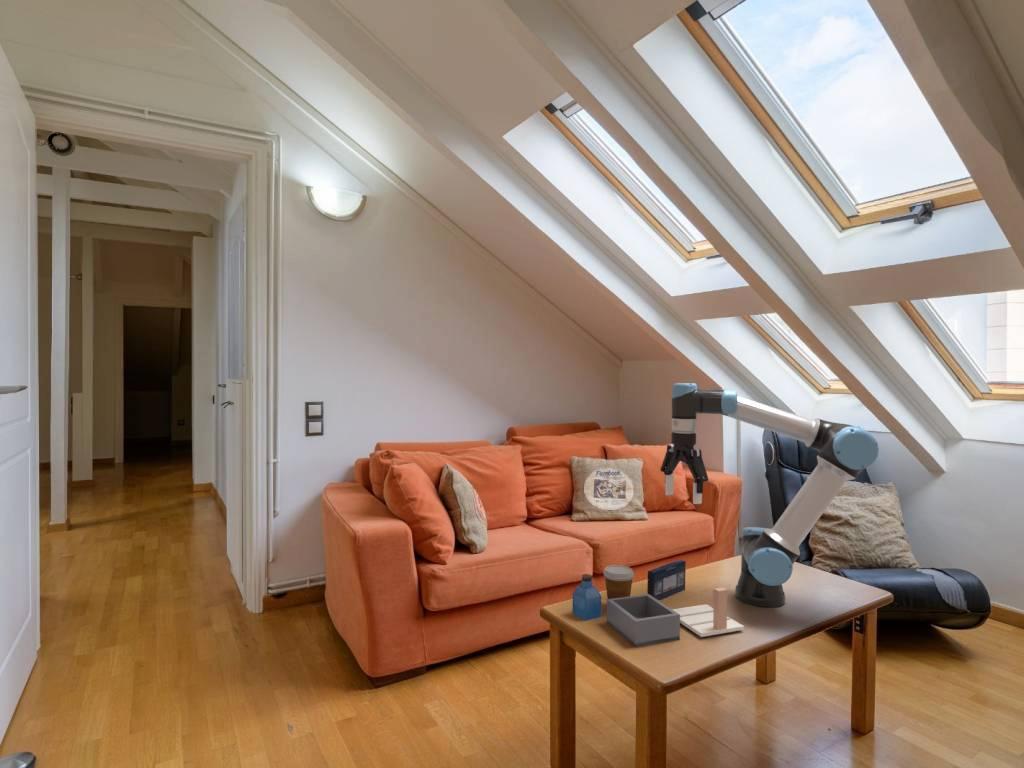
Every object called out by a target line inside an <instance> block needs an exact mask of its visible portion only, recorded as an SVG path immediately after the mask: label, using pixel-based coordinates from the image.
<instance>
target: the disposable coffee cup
mask: <svg viewBox="0 0 1024 768" xmlns="http://www.w3.org/2000/svg"><path fill="white" fill-rule="evenodd" d="M603 576H604V581H605V589H606V597H607V599H613V598H621V597H628V596H631V592H632V587H633V586H632V585H633V579H634V577H635V573H634V571H633V569H632V568H631V567H630V566H626V565H621V564H614V565H613V564H611V565H608V566H607V565H606V566H605V568H604V571H603ZM607 599H606V600H607Z"/></svg>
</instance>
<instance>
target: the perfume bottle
mask: <svg viewBox="0 0 1024 768" xmlns="http://www.w3.org/2000/svg"><path fill="white" fill-rule="evenodd" d="M581 577H582V578H581V584H580V585H577V586H576V587H575V589H574V590H573V591H572V608H571V609H572V613H571V614H573V613H574V614H575V615H574V614H573V615H574V616H576V615H577V616H576V617H577V618H579V617H580V618H579V619H580V620H582V621H584V620H585V621H584V622H586V620H587V621H589V620H594V619H598V618H602V595H601V593H600V592H599V589H598V588H597V587H596V586H594V585H593V584H594V579H593V575H592V574H588V573H584V574H582V575H581ZM597 617H598V618H597Z"/></svg>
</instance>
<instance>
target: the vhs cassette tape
mask: <svg viewBox="0 0 1024 768" xmlns="http://www.w3.org/2000/svg"><path fill="white" fill-rule="evenodd" d="M686 561H687V560H683V559H678V560H675V561H673V562H670V563H667V564H664V565H661V566H659V567H655V568H653V569H651V570H648V571H647V591H646V592H647V593H646V594H649V595H651V596H652V597H654V598H655V599H657V600H658V601H659V600H660V601H661V600H664V598H665V599H666V598H669V596H670V597H672V596H674V595H676V593H677V594H679V593H682V592H684V591H685V590H686V571H687V570H686V567H687V564H686V563H687V562H686ZM683 590H684V591H683ZM678 592H679V593H678ZM673 594H674V595H673ZM671 595H672V596H671Z"/></svg>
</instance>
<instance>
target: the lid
mask: <svg viewBox="0 0 1024 768" xmlns="http://www.w3.org/2000/svg"><path fill="white" fill-rule="evenodd" d="M671 609H672V608H671ZM672 610H674V611H675V612H677V613H678V614H680V624H681V625H683V626H684V627H686V628H687V629H689V630H690V631H692V632H693V633H694V634H696V635H697V636H699V637H700V638H703V637H710V636H714V635H715V636H716V635H720V634H725V633H726V634H727V633H732V632H736V631H737V632H738V631H743V630H744V629H745V625H743V624H741V623H740V622H738V621H736V620H735V619H733V618H731V617H729V616H728V589H727V588H724V587H723V586H722V587H717V588H715V587H714V588H713V606H710V605H709V604H707V603H706V604H698V605H693V606H686V607H679V608H673V609H672Z"/></svg>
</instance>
